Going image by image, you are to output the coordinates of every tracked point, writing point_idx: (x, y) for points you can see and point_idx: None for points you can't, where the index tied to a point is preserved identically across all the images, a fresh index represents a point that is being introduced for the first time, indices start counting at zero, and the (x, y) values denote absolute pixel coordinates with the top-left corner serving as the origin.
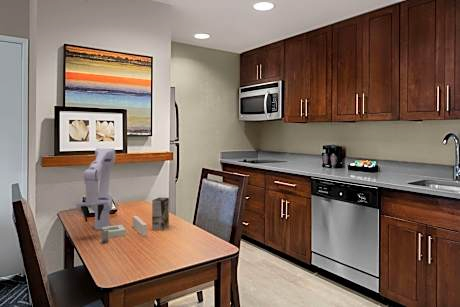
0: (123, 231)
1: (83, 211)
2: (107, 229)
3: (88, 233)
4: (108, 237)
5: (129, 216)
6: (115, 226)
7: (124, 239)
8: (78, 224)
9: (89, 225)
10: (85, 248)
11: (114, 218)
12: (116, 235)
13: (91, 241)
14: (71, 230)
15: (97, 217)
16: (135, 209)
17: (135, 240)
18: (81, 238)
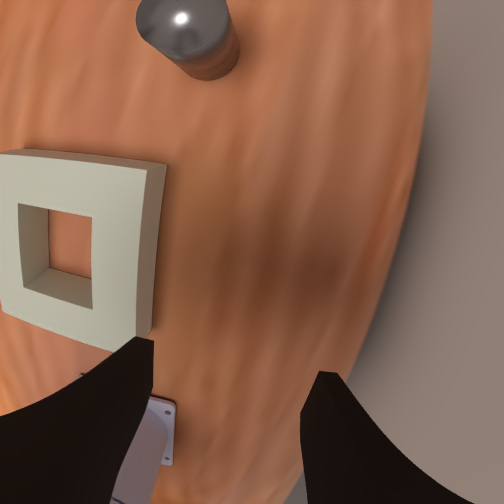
0: (12, 152)
1: (455, 498)
2: (143, 14)
3: (240, 375)
4: (136, 160)
5: None
6: (35, 300)
7: (61, 52)
8: (234, 501)
9: (189, 475)
10: (397, 22)
11: None
12: (72, 154)
13: (300, 155)
14: (302, 461)
15: (145, 409)
16: None
17: (29, 5)
18: (333, 295)
